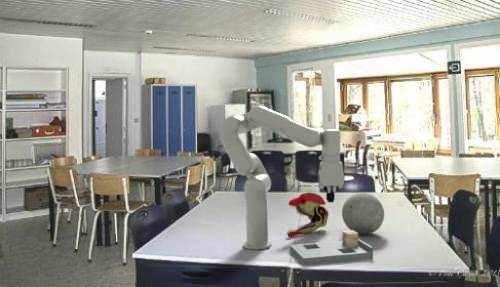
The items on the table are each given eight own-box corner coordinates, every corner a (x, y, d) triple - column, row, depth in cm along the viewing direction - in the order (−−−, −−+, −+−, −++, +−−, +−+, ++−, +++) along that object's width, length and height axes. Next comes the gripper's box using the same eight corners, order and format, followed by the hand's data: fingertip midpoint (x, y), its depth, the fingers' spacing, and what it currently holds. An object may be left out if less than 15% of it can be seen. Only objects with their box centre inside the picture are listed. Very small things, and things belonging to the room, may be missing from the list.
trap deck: (290, 250, 179) (289, 240, 178) (353, 245, 184) (352, 235, 184) (303, 264, 161) (303, 253, 161) (372, 258, 167) (372, 247, 166)
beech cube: (342, 242, 181) (342, 231, 180) (353, 241, 182) (353, 230, 181) (347, 245, 176) (346, 234, 176) (358, 244, 177) (358, 233, 176)
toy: (282, 236, 201) (282, 195, 200) (321, 227, 217) (321, 189, 216) (292, 239, 195) (292, 197, 194) (332, 230, 211) (331, 190, 210)
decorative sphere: (385, 230, 208) (385, 190, 207) (382, 241, 190) (382, 197, 189) (345, 227, 216) (345, 189, 215) (338, 237, 197) (338, 195, 196)
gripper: (317, 159, 170) (316, 204, 171) (351, 159, 173) (350, 202, 174) (311, 158, 178) (310, 200, 179) (343, 157, 181) (343, 199, 182)
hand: (330, 201), depth 177 cm, fingers closed
